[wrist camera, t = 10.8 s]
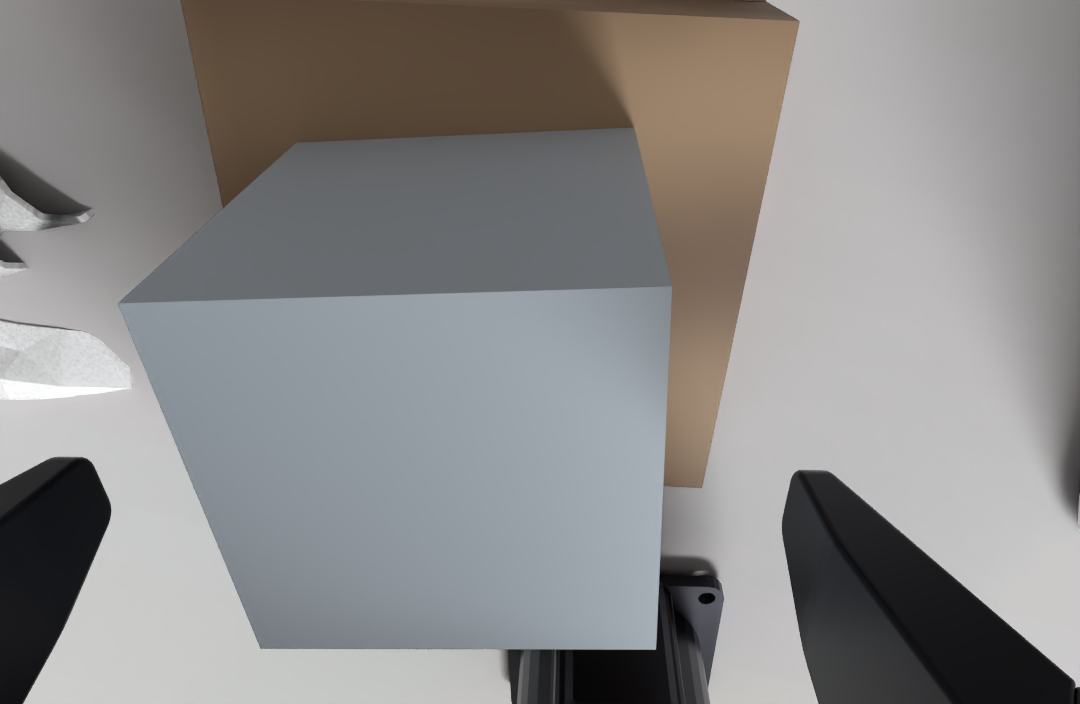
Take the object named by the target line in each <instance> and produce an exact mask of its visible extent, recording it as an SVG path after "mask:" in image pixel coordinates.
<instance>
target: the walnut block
mask: <svg viewBox="0 0 1080 704" xmlns="http://www.w3.org/2000/svg"><path fill="white" fill-rule="evenodd" d="M181 4H182V9H183V14H184V19H185V24H186V29H187V34H188V38H189V43H190V48H191V53H192V58H193V63H194V68H195V73H196V78H197V82H198V87H199V92H200V97H201V102H202V107H203V112H204V117H205V122H206V126H207V131H208V136H209V141H210V146H211V151H212V156H213V161H214V166H215V170H216V175H217V180H218V185H219V190H220V195H221V200H222V205H223V208H224V207H225V206H226V205H228V204H229V203H230V202H231V201H232V200H233V199H234V198H235V197H236V196H238V195H239V194H240V193H241V192H242V191H243V190H244V189H245V188H246V187H248V186H249V185H250V184H251V183H252V182H253V181H254V180H255V179H256V178H258V177H259V176H260V175H261V174H262V173H263V172H264V171H265V170H266V169H268V168H269V167H270V166H271V165H272V164H273V163H274V162H275V161H276V160H278V159H279V158H280V157H281V156H282V155H283V154H284V153H285V152H286V151H288V150H289V149H290V148H291V147H292V146H293V145H294V144H295V143H300V142H322V141H344V140H366V139H388V138H410V137H432V136H454V135H477V134H499V133H521V132H543V131H565V130H587V129H609V128H631V127H634V128H635V132H636V137H637V141H638V145H639V149H640V153H641V158H642V162H643V166H644V170H645V174H646V179H647V183H648V187H649V191H650V195H651V200H652V204H653V208H654V212H655V217H656V221H657V225H658V229H659V233H660V238H661V242H662V246H663V250H664V254H665V259H666V263H667V267H668V271H669V275H670V280H671V284H672V301H671V324H670V346H669V369H668V392H667V414H666V437H665V459H664V482H663V486H674V487H691V488H702V485H703V480H704V476H705V471H706V466H707V461H708V456H709V452H710V447H711V442H712V437H713V433H714V428H715V423H716V418H717V414H718V409H719V404H720V399H721V394H722V390H723V385H724V380H725V375H726V371H727V366H728V361H729V356H730V351H731V347H732V342H733V337H734V332H735V328H736V323H737V318H738V313H739V308H740V304H741V299H742V294H743V289H744V285H745V280H746V275H747V270H748V265H749V261H750V256H751V251H752V246H753V242H754V237H755V232H756V227H757V222H758V218H759V213H760V208H761V203H762V199H763V194H764V189H765V184H766V180H767V175H768V170H769V165H770V160H771V156H772V151H773V146H774V141H775V137H776V132H777V127H778V122H779V117H780V113H781V108H782V103H783V98H784V94H785V89H786V84H787V79H788V74H789V70H790V65H791V60H792V55H793V51H794V46H795V41H796V36H797V31H798V27H799V22H800V21H799V20H797V19H795V18H793V17H792V16H790V15H788V14H787V13H785V12H783V11H781V10H780V9H778V8H776V7H775V6H773V5H771V4H769V3H768V2H761V1H740V0H181Z"/></svg>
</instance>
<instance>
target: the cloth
mask: <svg viewBox="0 0 1080 704" xmlns="http://www.w3.org/2000/svg"><path fill="white" fill-rule="evenodd" d="M93 215H94V210H93V208H92V209H89V210H85V211H81V212H77V213H72V214H65V215H54V214H43V213H41V212H40V211H38V210H37V209H35V208H34V207H33V206H31V205H30V204H28V203H27V202H26V201H24V200H23V199H21V198H20V197H19V196H17V195H16V194H14V193H13V192H12V191H11V190H10V189H9V187H8V186H7V184H6V183H5V182H4V180H3V179H2V178H1V176H0V236H1V235H2V233H3V231H4V230H7V231H28V230H43V229H49V228H55V227H60V226H66V225H72V224H78V223H83V222H85V221H87V220H88V219H89V218H91V217H92V216H93ZM27 269H30V268H29V267H28V266H27V265H26V264H25V263H6V262H3V261H1V260H0V277H1V276H5V275H8V274H12V273H16V272H20V271H23V270H27ZM128 388H133V384H132V378H131V371H130V368H129V367H128V366H127V365H126V364H125V363H124V362H123V361H122V360H121V359H120V358H119V357H118V356H117V355H116V354H114V353H113V352H112V351H111V350H110V349H109V348H108V347H107V346H106V345H105V344H104V343H103V342H102V341H101V340H100V339H98V338H96V337H94V336H92V335H90V334H89V333H87V332H85V331H76V330H66V329H59V328H51V327H42V326H33V325H25V324H18V323H13V322H7V321H1V320H0V399H6V400H22V399H49V398H62V397H72V396H76V395H84V394H96V393H103V392H109V391H116V390H122V389H128Z"/></svg>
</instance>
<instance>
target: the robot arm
mask: <svg viewBox="0 0 1080 704" xmlns="http://www.w3.org/2000/svg"><path fill="white" fill-rule="evenodd" d="M110 517H111V504H110V501H109V498H108V496H107V494H106V492H105V490H104V487H103V485H102V483H101V481H100V478H99V476H98V474H97V472H96V470H95V467H94V465H93V464H92V463H91V462H90V461H89V460H88V459H86V458H83V457H54V458H50V459H48V460H46V461H44V462H42V463H40V464H38V465H37V466H35V467H33V468H31V469H29V470H27V471H25V472H23V473H21V474H19V475H18V476H16V477H14V478H12V479H10V480H8V481H6V482H4V483H2V484H1V485H0V704H23V703H24V701H25V699H26V697H27V696H28V694H29V692H30V690H31V688H32V686H33V685H34V683H35V681H36V679H37V677H38V675H39V674H40V672H41V670H42V668H43V666H44V665H45V663H46V661H47V659H48V657H49V655H50V654H51V652H52V650H53V648H54V646H55V644H56V642H57V640H58V639H59V637H60V635H61V633H62V631H63V629H64V627H65V624H66V622H67V620H68V618H69V616H70V614H71V611H72V609H73V607H74V604H75V602H76V600H77V597H78V595H79V593H80V590H81V588H82V586H83V583H84V581H85V579H86V576H87V574H88V571H89V569H90V567H91V564H92V562H93V560H94V557H95V555H96V553H97V550H98V548H99V546H100V543H101V541H102V538H103V536H104V534H105V531H106V529H107V527H108V524H109V521H110ZM782 535H783V542H784V547H785V553H786V558H787V564H788V570H789V575H790V581H791V587H792V592H793V598H794V603H795V609H796V615H797V620H798V626H799V632H800V637H801V642H802V647H803V651H804V655H805V659H806V662H807V666H808V670H809V673H810V676H811V680H812V683H813V686H814V690H815V693H816V696H817V700H818V703H819V704H1080V687H1077V688H1075V682H1074V680H1073V679H1072V678H1070V677H1069V676H1068V675H1067V674H1066V673H1065V672H1063V671H1062V670H1061V669H1060V668H1059V667H1058V666H1056V665H1055V664H1054V663H1053V662H1052V661H1051V660H1049V659H1048V658H1047V657H1046V656H1045V655H1044V654H1042V653H1041V652H1040V651H1039V650H1038V649H1037V648H1035V647H1034V646H1033V645H1032V644H1031V643H1030V642H1028V641H1027V640H1026V639H1025V638H1024V637H1023V636H1021V635H1020V634H1019V633H1018V632H1017V631H1016V630H1014V629H1013V628H1012V627H1011V626H1010V625H1009V624H1007V623H1006V622H1005V621H1004V620H1003V619H1002V618H1000V617H999V616H998V615H997V614H996V613H995V612H993V611H992V610H991V609H990V608H989V607H988V606H986V605H985V604H984V603H983V602H982V601H981V600H979V599H978V598H977V597H976V596H975V595H974V594H972V593H971V592H970V591H969V590H968V589H967V588H965V587H964V586H963V585H962V584H961V583H960V582H958V581H957V580H956V579H955V578H954V577H953V576H951V575H950V574H949V573H948V572H947V571H946V570H944V569H943V568H942V567H941V566H940V565H939V564H937V563H936V562H935V561H934V560H933V559H932V558H930V557H929V556H928V555H927V554H926V553H925V552H923V551H922V550H921V549H920V548H919V547H918V546H916V545H915V544H914V543H913V542H912V541H911V540H909V539H908V538H907V537H906V536H905V535H904V534H902V533H901V532H900V531H899V530H898V529H897V528H895V527H894V526H893V525H892V524H891V523H890V522H888V521H887V520H886V519H885V518H884V517H883V516H881V515H880V514H879V513H878V512H877V511H876V510H874V509H873V508H872V507H871V506H870V505H869V504H867V503H866V502H865V501H864V500H863V499H862V498H860V497H859V496H858V495H857V494H856V493H855V492H853V491H852V490H851V489H850V488H849V487H848V486H846V485H845V484H844V483H843V482H842V481H841V480H839V479H838V478H837V477H836V476H835V475H833V474H832V473H830V472H828V471H824V470H798V471H797V472H795V473H794V475H793V476H792V478H791V482H790V487H789V491H788V495H787V500H786V504H785V509H784V513H783V518H782ZM723 601H724V596H723V591H722V586H721V583H720V582H719V580H717V579H715V578H713V577H708V576H676V575H659V595H658V618H657V640H656V650H594V649H508V650H509V667H510V684H511V701H512V704H710V700H709V693H708V684H709V679H710V673H711V668H712V662H713V656H714V651H715V645H716V640H717V634H718V629H719V623H720V618H721V612H722V606H723Z"/></svg>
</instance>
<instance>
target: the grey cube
mask: <svg viewBox="0 0 1080 704" xmlns="http://www.w3.org/2000/svg"><path fill="white" fill-rule="evenodd" d="M671 301H672V284H671V280H670V275H669V271H668V267H667V263H666V259H665V254H664V250H663V246H662V242H661V238H660V233H659V229H658V225H657V221H656V217H655V212H654V208H653V204H652V200H651V195H650V191H649V187H648V183H647V179H646V174H645V170H644V166H643V162H642V158H641V153H640V149H639V145H638V141H637V137H636V132H635V128H634V127H631V128H609V129H587V130H565V131H543V132H521V133H499V134H477V135H454V136H432V137H410V138H388V139H366V140H344V141H322V142H300V143H295V144H294V145H293V146H292V147H291V148H290V149H289V150H288V151H286V152H285V153H284V154H283V155H282V156H281V157H280V158H279V159H278V160H276V161H275V162H274V163H273V164H272V165H271V166H270V167H269V168H268V169H266V170H265V171H264V172H263V173H262V174H261V175H260V176H259V177H258V178H256V179H255V180H254V181H253V182H252V183H251V184H250V185H249V186H248V187H246V188H245V189H244V190H243V191H242V192H241V193H240V194H239V195H238V196H236V197H235V198H234V199H233V200H232V201H231V202H230V203H229V204H228V205H226V206H225V207H224V208H223V209H222V210H221V211H220V212H219V213H218V214H216V215H215V216H214V217H213V218H212V219H211V220H210V221H209V222H208V223H206V224H205V225H204V226H203V227H202V228H201V229H200V230H199V231H198V232H196V233H195V234H194V235H193V236H192V237H191V238H190V239H189V240H188V241H186V242H185V243H184V244H183V245H182V246H181V247H180V248H179V249H178V250H176V251H175V252H174V253H173V254H172V255H171V256H170V257H169V258H168V259H166V260H165V261H164V262H163V263H162V264H161V265H160V266H159V267H158V268H156V269H155V270H154V271H153V272H152V273H151V274H150V275H149V276H148V277H146V278H145V279H144V280H143V281H142V282H141V283H140V284H139V285H138V286H136V287H135V288H134V289H133V290H132V291H131V292H130V293H129V294H128V295H126V296H125V297H124V298H123V299H122V300H121V301H120V302H119V303H118V306H119V308H120V310H121V313H122V315H123V318H124V320H125V322H126V325H127V327H128V330H129V332H130V334H131V337H132V339H133V342H134V344H135V347H136V349H137V351H138V354H139V356H140V359H141V361H142V363H143V366H144V368H145V371H146V373H147V375H148V378H149V380H150V383H151V385H152V388H153V390H154V392H155V395H156V397H157V400H158V402H159V404H160V407H161V409H162V412H163V414H164V417H165V419H166V421H167V424H168V426H169V429H170V431H171V433H172V436H173V438H174V441H175V443H176V445H177V448H178V450H179V453H180V455H181V458H182V460H183V462H184V465H185V467H186V470H187V472H188V474H189V477H190V479H191V482H192V484H193V487H194V489H195V491H196V494H197V496H198V499H199V501H200V503H201V506H202V508H203V511H204V513H205V515H206V518H207V520H208V523H209V525H210V528H211V530H212V532H213V535H214V537H215V540H216V542H217V544H218V547H219V549H220V552H221V554H222V556H223V559H224V561H225V564H226V566H227V569H228V571H229V573H230V576H231V578H232V581H233V583H234V585H235V588H236V590H237V593H238V595H239V598H240V600H241V602H242V605H243V607H244V610H245V612H246V614H247V617H248V619H249V622H250V624H251V626H252V629H253V631H254V634H255V636H256V639H257V641H258V643H259V646H260V648H261V649H594V650H656V640H657V618H658V595H659V573H660V550H661V527H662V505H663V482H664V459H665V437H666V414H667V392H668V369H669V346H670V324H671Z"/></svg>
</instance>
